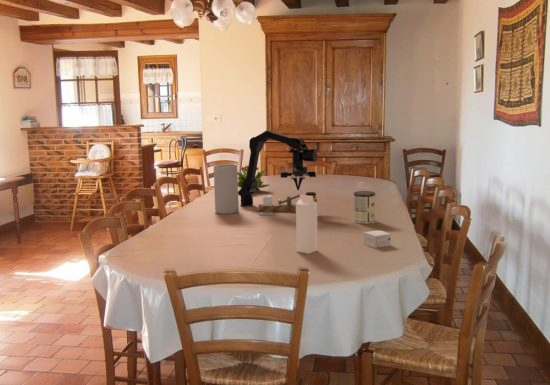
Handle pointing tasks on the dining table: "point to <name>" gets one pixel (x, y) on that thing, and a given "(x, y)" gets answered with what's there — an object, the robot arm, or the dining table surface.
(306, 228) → the milk
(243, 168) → the potted flower
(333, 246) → the dining table surface
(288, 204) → the plane body
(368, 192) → the coffee can
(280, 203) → the lever
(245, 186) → the robot arm
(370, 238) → the small box
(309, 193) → the condiment
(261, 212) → the rubber mat
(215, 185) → the cylinder vase
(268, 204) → the cap block
